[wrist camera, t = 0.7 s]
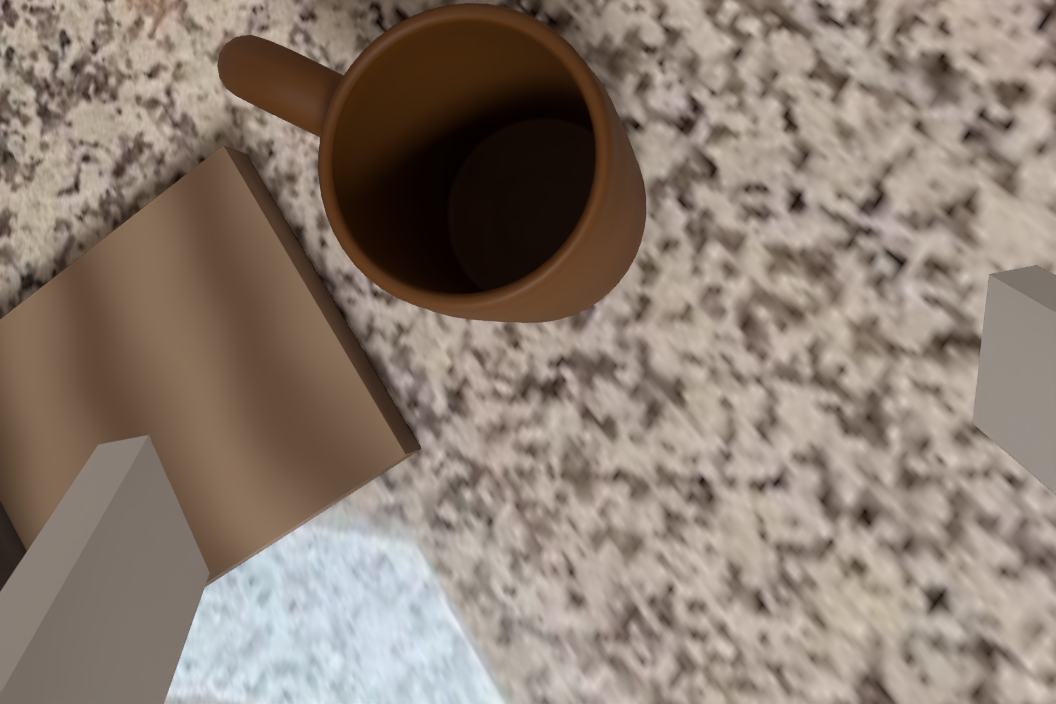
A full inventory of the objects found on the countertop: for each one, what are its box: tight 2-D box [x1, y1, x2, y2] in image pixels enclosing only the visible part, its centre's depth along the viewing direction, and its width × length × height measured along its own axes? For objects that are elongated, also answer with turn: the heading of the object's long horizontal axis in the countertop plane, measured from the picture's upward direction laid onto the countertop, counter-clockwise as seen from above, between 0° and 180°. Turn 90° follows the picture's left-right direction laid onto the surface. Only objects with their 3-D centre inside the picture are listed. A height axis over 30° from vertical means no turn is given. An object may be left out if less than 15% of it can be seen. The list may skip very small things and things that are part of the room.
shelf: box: [0, 145, 421, 591], centre depth 26 cm, size 17×13×12 cm
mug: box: [217, 3, 646, 323], centre depth 24 cm, size 12×8×9 cm, turn 64°
